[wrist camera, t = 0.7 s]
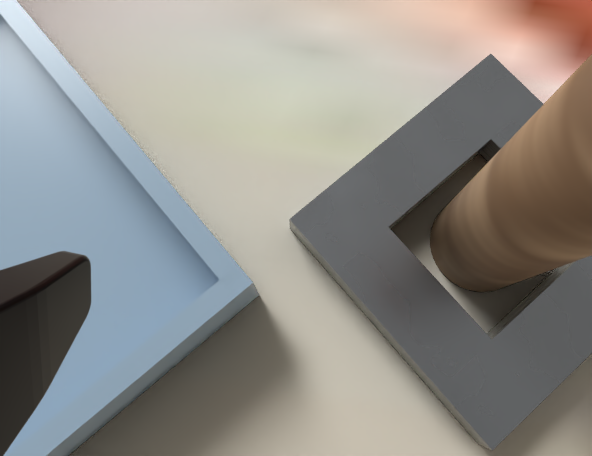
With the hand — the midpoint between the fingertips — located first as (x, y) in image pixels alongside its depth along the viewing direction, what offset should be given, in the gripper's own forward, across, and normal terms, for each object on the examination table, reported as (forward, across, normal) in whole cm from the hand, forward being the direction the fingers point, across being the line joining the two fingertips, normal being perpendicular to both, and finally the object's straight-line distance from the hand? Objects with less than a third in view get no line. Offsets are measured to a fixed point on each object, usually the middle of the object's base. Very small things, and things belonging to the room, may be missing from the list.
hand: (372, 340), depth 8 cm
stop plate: (+14, -5, +5) cm, 16 cm away
